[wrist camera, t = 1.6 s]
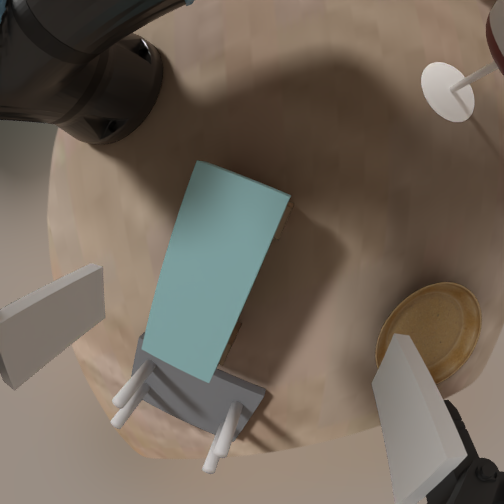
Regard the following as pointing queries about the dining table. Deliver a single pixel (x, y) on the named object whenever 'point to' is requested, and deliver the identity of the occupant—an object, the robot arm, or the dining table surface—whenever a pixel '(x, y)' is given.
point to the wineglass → (452, 80)
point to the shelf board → (210, 267)
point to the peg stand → (190, 400)
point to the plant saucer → (436, 327)
